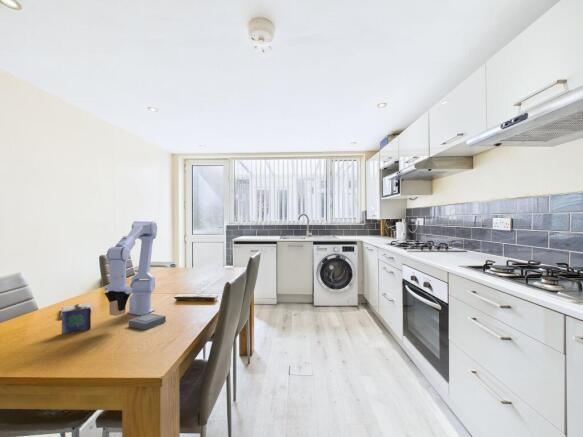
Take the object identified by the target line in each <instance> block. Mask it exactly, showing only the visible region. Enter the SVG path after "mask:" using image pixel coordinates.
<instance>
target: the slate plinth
mask: <svg viewBox="0 0 583 437" xmlns="http://www.w3.org/2000/svg"><path fill="white" fill-rule="evenodd" d="M166 322H167V320H166V315H162V314H156V313H152V312H149V313H146V314H143V315H139V316H137V317H134V318H131V319H129V320H128V327H130V328H135V329H139V330H143V331H146V330H149V329H152V328H154V327H157V326H159V325H161V324H164V323H166Z"/></svg>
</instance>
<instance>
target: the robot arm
mask: <svg viewBox="0 0 583 437" xmlns="http://www.w3.org/2000/svg"><path fill="white" fill-rule="evenodd" d="M157 233H158V226H157V223H156V221H155V220H152V221H150V220H149V221H141V220H140V221H137V220H135V221H133V222H132V224H131V230H130V231H129V233H128V234H127V235H125V236H122V237H121V238H120V240H119V241H118V242H117V243H116V245H114V246H112V247H110V248H108V250H107V252H106V259H107V263H108V266H109V284H106V285H104V287H103V288H104V289H103V291H107V292H104V295H105V297H106V298H107V300H108V303H109V304H110V302H112V301H116V300H117V303H118V310H119V311H122V310H125V306H126V305H127V303H128V300H129V303H128V304H129V305H128V306H129V308H128V311H127V314H132V315H137V316H143V315H146V314H149V313H153V312H155V311H156V309H154V308H152V293H153V292H154V291H155V289H156V282H155V281H156V280H155V276H154V275H153V274H152V273H150V272H151V271H150V270H151V260H152V253H153V252H152V251H153V242H154V240H155V239H156V238H157ZM137 239H138V240H141V244H140V253H139V262H138V267H137V268H138V270H137V273H136V274H135V275H133V276H132V278H131V281H130V284H129V286H128V285H127V260H129V258H130V255H131V250H132V249H133V248H134V246H135V245H136V240H137Z"/></svg>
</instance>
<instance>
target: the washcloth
mask: <svg viewBox="0 0 583 437" xmlns="http://www.w3.org/2000/svg"><path fill="white" fill-rule="evenodd" d="M78 304H79V305H78V306H80V307H82V308H84V307H90V308H91V314H92V311H93V306H92V303H91V302H83V303H78ZM75 305H76V304H73V305H66V306H62V307H61V311H60V316H59V317H60V320H61V321H62V311H64V310H70V309H75V308H74V306H75Z"/></svg>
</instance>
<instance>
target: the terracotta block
mask: <svg viewBox="0 0 583 437" xmlns="http://www.w3.org/2000/svg"><path fill="white" fill-rule="evenodd" d="M126 310H127V309H126V306H125V310H122V311H119V310H118V303H117V300H116V301H112V302H110V303H109V313H108V314H109V315H110V316H114V317H117V316H120V315H123V314H126Z"/></svg>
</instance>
